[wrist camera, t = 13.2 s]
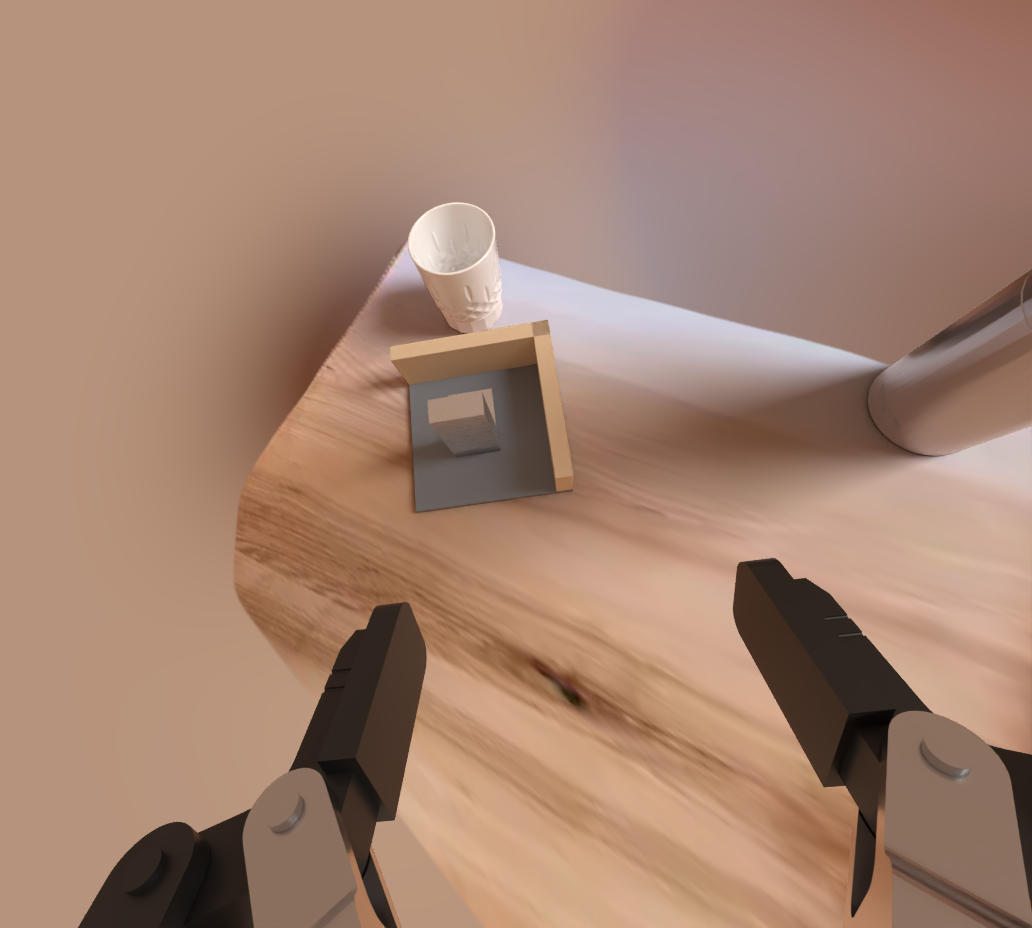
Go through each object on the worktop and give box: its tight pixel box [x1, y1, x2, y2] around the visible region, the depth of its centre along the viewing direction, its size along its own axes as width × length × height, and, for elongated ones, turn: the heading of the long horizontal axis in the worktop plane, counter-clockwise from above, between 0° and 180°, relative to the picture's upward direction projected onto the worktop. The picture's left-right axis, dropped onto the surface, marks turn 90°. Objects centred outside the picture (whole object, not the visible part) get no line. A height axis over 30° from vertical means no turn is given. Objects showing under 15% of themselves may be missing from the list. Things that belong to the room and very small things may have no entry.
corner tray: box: [390, 320, 574, 513], centre depth 41 cm, size 15×15×6 cm
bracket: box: [427, 388, 501, 457], centre depth 39 cm, size 4×6×9 cm
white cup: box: [408, 202, 503, 333], centre depth 43 cm, size 8×8×10 cm
